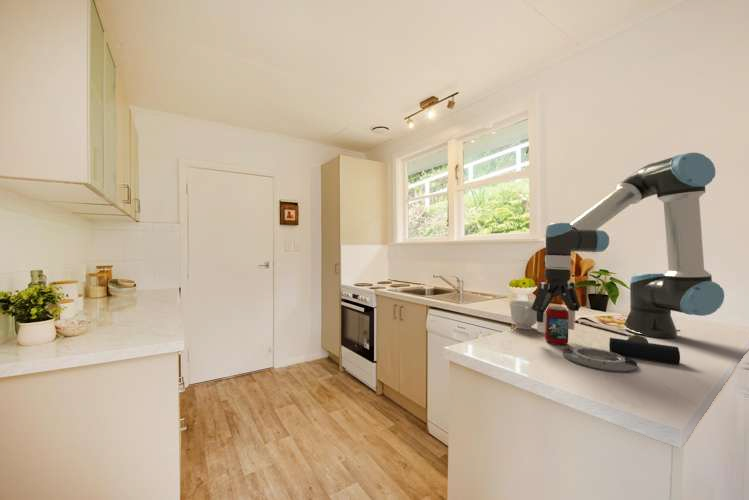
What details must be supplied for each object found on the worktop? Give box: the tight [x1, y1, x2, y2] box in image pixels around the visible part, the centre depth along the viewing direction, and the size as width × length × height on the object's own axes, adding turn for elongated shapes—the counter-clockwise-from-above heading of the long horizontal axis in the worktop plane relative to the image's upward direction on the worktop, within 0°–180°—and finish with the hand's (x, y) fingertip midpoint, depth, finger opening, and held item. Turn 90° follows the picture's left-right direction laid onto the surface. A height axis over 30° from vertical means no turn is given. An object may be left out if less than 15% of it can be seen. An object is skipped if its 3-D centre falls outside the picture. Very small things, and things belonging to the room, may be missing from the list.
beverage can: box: [544, 305, 569, 346], centre depth 103 cm, size 7×7×12 cm
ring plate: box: [562, 346, 638, 374], centre depth 87 cm, size 17×17×2 cm
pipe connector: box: [608, 334, 681, 366], centre depth 92 cm, size 12×5×15 cm
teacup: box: [507, 300, 537, 330], centre depth 121 cm, size 12×15×10 cm
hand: (555, 330), depth 103 cm, fingers open, 13 cm apart
